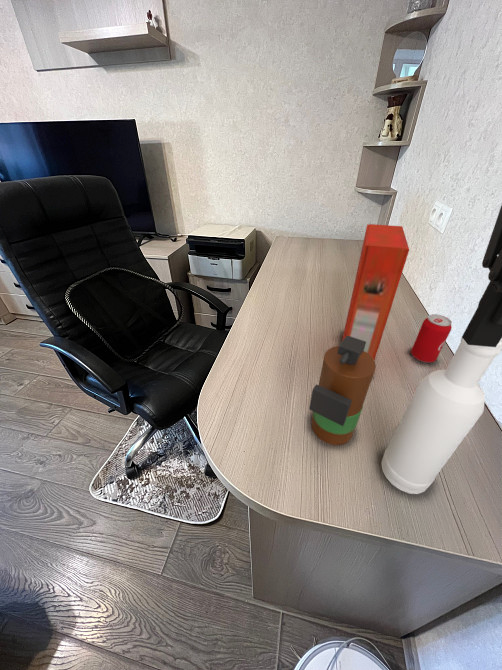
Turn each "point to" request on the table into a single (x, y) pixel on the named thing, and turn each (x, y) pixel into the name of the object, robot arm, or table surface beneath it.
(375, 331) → the file binder
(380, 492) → the table surface
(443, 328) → the beverage can
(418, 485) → the bottle
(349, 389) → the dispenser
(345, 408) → the dark rectangular block
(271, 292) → the table surface
